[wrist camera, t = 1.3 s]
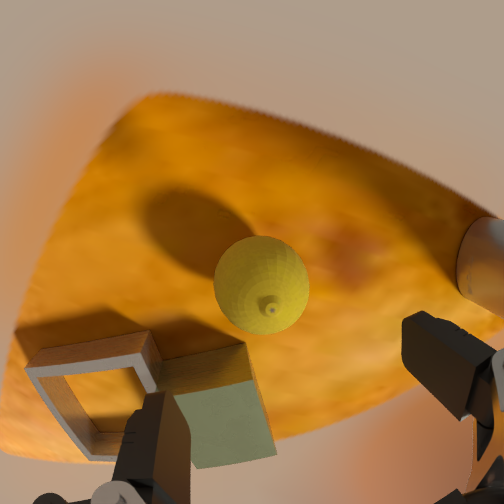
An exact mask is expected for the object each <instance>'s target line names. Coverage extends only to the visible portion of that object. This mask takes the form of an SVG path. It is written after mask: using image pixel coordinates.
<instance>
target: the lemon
mask: <svg viewBox="0 0 504 504" xmlns="http://www.w3.org/2000/svg"><path fill="white" fill-rule="evenodd" d="M214 290H215V297H216V300H217V302H218V304H219V306H220V308H221V310H222V312H223V313H224V314H225V316H226V317H227V318H228V319H229V320H230V322H232V323H233V324H234V325H236V326H237V327H238V328H240V329H242V330H244V331H247V332H249V333H252V334H259V335H266V334H274V333H277V332H280V331H283V330H284V329H286V328H288V327H289V326H291V325H292V324H293V323H294V322H295V321H296V320H297V319H298V318H299V317H300V316H301V314H302V312H303V311H304V309H305V307H306V304H307V301H308V298H309V280H308V275H307V271H306V268H305V266H304V264H303V262H302V260H301V258H300V257H299V256H298V254H297V253H296V252H295V251H294V250H293V249H292V248H291V247H290V246H288V245H287V244H285V243H284V242H282V241H281V240H278V239H275V238H272V237H269V236H252V237H247V238H244V239H242V240H240V241H237V242H235V243H234V244H233V245H232V246H230V247H229V248H228V249H227V250H226V251H225V253H224V254H223V255H222V257H221V258H220V260H219V262H218V265H217V267H216V270H215V275H214Z"/></svg>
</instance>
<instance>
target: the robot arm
mask: <svg viewBox="0 0 504 504" xmlns="http://www.w3.org/2000/svg"><path fill="white" fill-rule="evenodd" d="M456 274H457V283H458V288H459V290H460V292H461V294H462V295H463V296H464V297H465V298H467V299H469V300H471V301H472V302H474V303H476V304H478V305H480V306H482V307H483V308H485V309H487V310H489V311H490V312H492V313H494V314H496V315H498V316H499V317H501V318H503V319H504V220H502V219H497V218H492V217H482V218H479V219H478V220H476V221H475V222H474V223H473V224H472V225H471V226H470V228H469V229H468V231H467V233H466V234H465V237H464V239H463V241H462V244H461V247H460V250H459V254H458V260H457V270H456ZM401 355H402V361H403V363H404V366H405V367H406V369H407V370H408V371H409V372H410V373H411V374H412V375H413V376H414V377H415V378H416V379H417V380H418V381H419V382H420V383H421V384H422V385H423V386H424V387H425V388H426V389H428V390H429V392H430V393H432V394H433V395H434V396H435V397H436V398H437V399H438V400H439V401H440V402H441V403H442V404H443V405H444V406H445V407H446V408H447V409H448V410H449V411H450V412H451V413H452V414H453V415H454V416H455V417H456V418H457V419H458V420H459V421H460V422H461V421H462V420H463V419H465V418H466V417H468V416H469V415H470V414H472V415H473V416H474V420H473V453H472V454H473V455H472V469H471V474H470V477H469V479H468V483H467V486H466V491H465V493H464V494H461V493H460V492H459V491H458V489H455V490H454V491H453V492H451V493H450V494H448V495H447V496H445V497H444V498H442V499H441V500H439V501H437V502H436V503H434V504H504V348H503V349H501V350H499V351H496V350H495V349H493V348H492V347H490V346H489V345H487V344H486V343H484V342H483V341H481V340H479V339H478V338H476V337H475V336H473V335H472V334H468V332H467V331H465V330H464V329H460V327H459V326H457V325H456V324H454V323H452V322H451V321H448V320H444V319H440V318H435V317H433V316H431V315H430V314H428V313H427V312H425V311H419V312H417V313H415V314H413V315H411V316H408V317H406V318H404V319H403V321H402V351H401ZM124 434H125V435H123V438H122V442H121V443H122V445H121V446H120V449H119V453H118V457H117V461H116V465H115V469H114V473H113V477H112V480H111V481H110V482H107V483H105V484H103V485H101V486H100V487H98V488H97V489H96V491H95V492H94V493H93V495H92V498H91V499H88V500H83V501H77V502H72V503H68V502H66V500H64V499H63V498H62V497H61V496H59V495H57V494H54V493H46V494H43V495H41V496H39V497H38V498H37V499H36V500H35V501H34V502H33V504H190V467H191V466H190V465H191V433H190V428H189V425H188V423H187V421H186V419H185V417H184V415H183V413H182V412H181V410H180V408H179V406H178V404H177V402H176V400H175V398H174V397H173V395H172V393H171V392H170V391H169V390H165V391H159V392H153V393H147V394H146V396H145V399H144V403H143V407H142V409H140V410H135V412H134V413H133V414H132V416H131V417H130V418H129V419H128V421H127V424H126V427H125V431H124Z"/></svg>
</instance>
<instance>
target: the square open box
mask: <svg viewBox="0 0 504 504" xmlns="http://www.w3.org/2000/svg"><path fill="white" fill-rule="evenodd" d="M126 367H134V369H135V371H136V373H137V375H138V377H139V379H140V381H141V383H142V384H143V386H144V388H145V390H146V392H147V393H153V392H159V391H165V390H169V391H170V392H171V393H172V395H173V397H174V398H175V400H176V402H177V404H178V406H179V408H180V410H181V412H182V413H183V415H184V417H185V419H186V421H187V423H188V425H189V428H190V433H191V461H192V463H193V464H194V465H195V467H196V468H197V469H202V468H210V467H217V466H224V465H230V464H236V463H241V462H246V461H252V460H256V459H261V458H265V457H270V456H274V455H277V451H276V447H275V443H274V439H273V435H272V431H271V427H270V423H269V419H268V416H267V412H266V409H265V406H264V403H263V399H262V396H261V393H260V390H259V386H258V383H257V380H256V377H255V373H254V370H253V367H252V363H251V360H250V356H249V353H248V350H247V346H246V343H242V344H237V345H233V346H229V347H225V348H221V349H216V350H212V351H208V352H203V353H198V354H194V355H189V356H184V357H179V358H174V359H169V360H162V357H161V355H160V353H159V350H158V348H157V346H156V343H155V341H154V339H153V336H152V334H151V331H150V330H146V331H141V332H136V333H131V334H126V335H121V336H116V337H110V338H105V339H100V340H94V341H88V342H83V343H77V344H71V345H65V346H59V347H52V348H46V349H41V350H40V351H39V352H38V353H37V354H36V355H35V356H34V358H33V359H32V360H31V361H30V362H29V363H28V364H27V365H26V367H25V368H24V369H25V371H26V373H27V375H28V376H29V378H30V380H31V381H32V383H33V385H34V386H35V388H36V390H37V391H38V393H39V394H40V396H41V398H42V399H43V401H44V402H45V404H46V405H47V407H48V408H49V410H50V411H51V412H52V414H53V415H54V417H55V418H56V420H57V421H58V422H59V424H60V425H61V426H62V428H63V429H64V430H65V432H66V433H67V434H68V436H69V437H70V438H71V439H72V441H73V442H74V443H75V444H76V446H77V447H78V448H79V449H80V450H81V452H82V453H83V454H84V455H85V456H86V457H87V459H88V460H89V461H109V462H116V461H117V457H118V453H119V449H120V446H121V445H122V443H121V442H122V438H123V435H125V434H124V432H112V433H100V432H99V431H98V429H97V428H96V427H95V425H94V424H93V422H92V421H91V420H90V418H89V417H88V415H87V414H86V412H85V411H84V409H83V408H82V406H81V405H80V403H79V402H78V400H77V399H76V397H75V395H74V394H73V392H72V391H71V389H70V387H69V386H68V384H67V382H66V380H65V379H64V377H63V375H72V374H81V373H90V372H98V371H105V370H113V369H119V368H126Z"/></svg>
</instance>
